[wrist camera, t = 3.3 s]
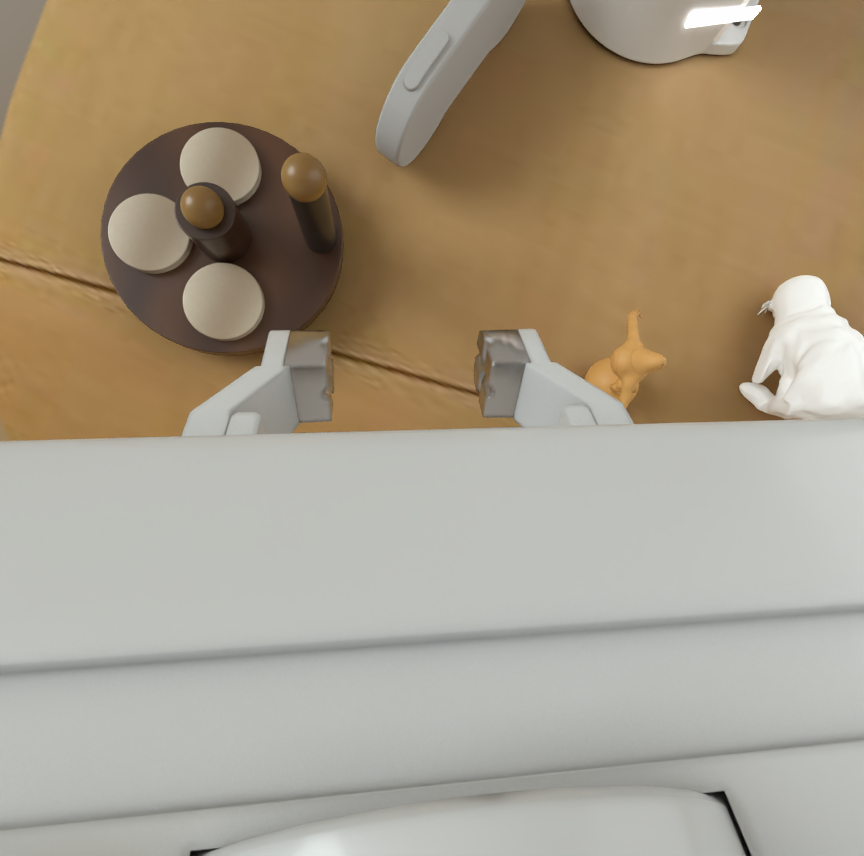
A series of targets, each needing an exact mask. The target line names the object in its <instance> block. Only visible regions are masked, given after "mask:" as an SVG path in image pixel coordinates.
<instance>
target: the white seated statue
mask: <svg viewBox="0 0 864 856" xmlns="http://www.w3.org/2000/svg"><path fill="white" fill-rule="evenodd" d="M767 302H768V303H764V304H762V305H763V306H762V307H763V309H762V308H761V309H762V310H761V311H760V312H759V313H758V314H760V313H761V312H762V311H764V310H766V309H769V310H770V311H771V312H772V315H773V317H774V318H775V322H774V327H773V328H772V329H771V331H770V333H769V337H768V339H767V341H766V342H765V344H764V346H763V349H762V352H761V355H760V357H759V360H758V363H757V365H756V368H755V370H754V374H753V377H752V382H753V383H750V382H745V383H742V384H740V386H739V389H740V392H741V393H742V395H743V396H744V397H745V398H746V399H748V400H749V401H750V402H751V403H752V404H754V406H755V407H756V408H757V409H758V410H760V411H763V412H765V413H767V414H771V415H775V416H779V417H782V418H784V419H792V418H798V419H802V420H804V419H838V418H864V337H863V336H862V335H861V334H860V333H859V332H858V331H857V330H855V329H852V328H851V327H850V326H849V324H848V321H847V320H846V319H845V318H843V317H840V316H838V315H837V314H836V312H835V310H834V309H833V308H832V307H831V300H830V295H829V292H828V290H827V287H826V285H825V284H824V282H823V281H822V280H821V279H820V278H818V277H815V276H810V275H802V276H797V277H794V278H791V279H789V280H787V281H785V282H784V283H783V284H781V285H780V286H779V287H778V288H777V290H776V292H775V293H774V296H773V298H772V300H771V301H767ZM764 307H765V308H764ZM769 310H768V311H769ZM766 311H767V310H766ZM766 311H765V313H766ZM758 314H757V315H758ZM762 317H763V316H762ZM774 370H778V371H779V374H780V375H781V378H780V380H779V387H778V389H777V393H776V396H774V395H773V394H772V393H771V392H770V391H769V389H768V388H767V387H765V386H763V385H760V383H762V382H763V381H764V380H765V379H766V378H767V377H768V376H769V375H770V374H771V373H772V372H773V371H774Z"/></svg>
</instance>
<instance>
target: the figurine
mask: <svg viewBox="0 0 864 856" xmlns="http://www.w3.org/2000/svg"><path fill="white" fill-rule="evenodd" d="M637 316H639V317H640V318H642V316H641V314H640V312H639V310H637V309H633V311H632V312H630V313H629V315H628V323H627V332H628V336H627V340H626V342H625V343H624V344H622V345H621V346H619V347H618V348H617V349H616V350H615V351H614V352H613V354H612V356H611V358H605V359H602V360H599V361H597V362H596V363H595V364H593V365H592V366H591V367H590V368H589V370H588V371H587V373H586V376H585V379H584V380H586V381H587V382H589V383H591V384H592V385H594V386H596V387H597V388H599V389H600V390H602V391H604V392H605V393H607V394H609V395H610V396H612V397H614V398H615V399H617V400H618V401H620V402H622V403H623V405H624V407H625V409H627V407H628V404H629V403H630V402H631V401H632V400H633V399H634V397H635V396H636V394H637V391H638V388H639V381H641V380H642V379H643V378H644V377H645V376H646V375H647V373H649V372H652V371H655V370H657V369H660V368H661V367H663V366H664V365H665V364H666V359H665V357H664V356H662V355H661V354H658V353H655V352H652V351H650V350H648V349H646V348H645V346H644V345H643V344H642V342H641V339H640V337H639V334H638V323H637Z"/></svg>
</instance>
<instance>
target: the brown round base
mask: <svg viewBox="0 0 864 856" xmlns="http://www.w3.org/2000/svg"><path fill="white" fill-rule="evenodd" d="M101 245H102V253H103V257H104V262H105V266H106V269H107V271H108V274H109V277H110V279H111V282H112V283H113V285H114V287H115V289H116V291H117V293H118V294H119V296H120V297H121V299H122V300H123V301H124V303H125V304H126V306H127V307H128V308H129V309H130V310H131V311H132V312H133V313H134V314H135V316H136V317H137V318H138V319H139V320H141V321H142V322H143V323H144V324H145V325H147V326H148V327H149V328H150V329H152V330H153V331H155V332H156V333H158V334H160V335H161V336H163V337H165V338H166V339H168V340H171V341H173V342H175V343H177V344H179V345H181V346H184V347H186V348H189V349H192V350H195V351H199V352H202V353H208V354H214V355H227V356H235V355H248V354H253V353H257V352H262V351H265V347H266V343H267V339H268V335H269V332H270V331H271V330H290V331H291V330H304V329H306V328H307V327H308V326H309V325H310V324H311V323H312V322H313V321H314V320H315V319H316V318H317V317H318V316H319V314H320V313H321V312H322V311H323V309H324V308H325V306H326V305H327V303H328V302H329V300H330V298H331V296H332V294H333V292H334V290H335V288H336V285H337V282H338V279H339V276H340V273H341V267H342V262H343V246H344V244H343V233H342V226H341V221H340V217H339V212H338V209H337V206H336V203H335V201H334V198H333V195H332V193H331V191H330V190H329V188H328V186H327V176H326V172H325V169H324V167H323V165H322V164H321V162H320V161H319V160H318V159H317V158H315V157H314V156H312V155H310V154H307V153H300V152H299V151H297V150H296V149H295V148H294V147H292V146H291V145H289V144H288V143H286V142H285V141H283V140H282V139H280V138H278V137H276V136H274V135H272V134H270V133H268V132H265V131H262V130H260V129H257V128H254V127H250V126H246V125H241V124H236V123H226V122H207V123H200V124H193V125H189V126H185V127H182V128H178V129H175V130H173V131H170V132H168V133H166V134H163V135H161V136H160V137H158V138H156V139H155V140H153V141H151V142H150V143H148V144H147V145H145V146H144V147H143V148H142V149H140V150H139V151H138V152H137V153H136V154H135V155H134V156H133V157H132V158H131V159H130V160H129V161H128V162H127V163H126V164H125V166H124V167H123V168H122V170H121V171H120V173H119V174H118V175H117V177H116V179H115V181H114V183H113V185H112V187H111V188H110V190H109V193H108V196H107V199H106V202H105V205H104V210H103V215H102V220H101Z"/></svg>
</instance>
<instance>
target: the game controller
mask: <svg viewBox="0 0 864 856" xmlns="http://www.w3.org/2000/svg"><path fill="white" fill-rule="evenodd" d="M525 2H526V0H451V1H450V2H449V3H448V5H447V6H446V7H445V9H444V10H443V11H442V13H441V14H440V16H439V17H438V18H437V20H436V21H435V22H434V24H433V25H432V26H431V28H430V29H429V31H428V32H427V33H426V35H425V36H424V37H423V39H422V40H421V41H420V43H419V44H418V46H417V47H416V48H415V50H414V51H413V52H412V54H411V55H410V57H409V58H408V59H407V61H406V62H405V64H404V65H403V67H402V69H401V70H400V72H399V74H398V76H397V77H396V79H395V81H394V83H393V85H392V87H391V89H390V91H389V94H388V96H387V98H386V100H385V103H384V106H383V108H382V111H381V114H380V117H379V121H378V125H377V129H376V137H375V142H376V148H377V150H378V151H379V152H380V153H381V154H382V155H384V156H385V157H386V158H388V159H389V160H390V161H392V162H393V163H394V164H396V165H397V166H399V167H404V166H406V165H408V164H409V163H411V162H412V161H413V160H414V159H415V158H416V157H417V156H418V154H419V153H420V152H421V151H422V149H423V148H424V147H425V145H426V144H427V143H428V141H429V140H430V138H431V137H432V135H433V133H434V132H435V130H436V128H437V127H438V125H439V123H440V122H441V120H442V118H443V116H444V114H445V113H446V111H447V110H448V108H449V107H450V105H451V104H452V103H453V101H454V100H455V98H456V97H457V96H458V94H459V93H460V91H461V90H462V89H463V87H464V86H465V84H466V83H467V82H468V80H469V79H470V78H471V76H472V75H473V73H474V72H475V71H476V69H477V68H478V66H479V65H480V64H481V62H482V61H483V60H484V58H485V57H486V56H487V54H488V53H489V52H490V50H492V49H493V48H494V47H495V46H496V45H497V44H498V43H499V42H500V41H501V40H502V39H503V37H504V36H505V35H506V33H507V32H508V30H509V29H510V27H511V26H512V24H513V23H514V21H515V20H516V18H517V16H518V15H519V13H520V11H521V9H522V8H523V6H524V4H525Z"/></svg>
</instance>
